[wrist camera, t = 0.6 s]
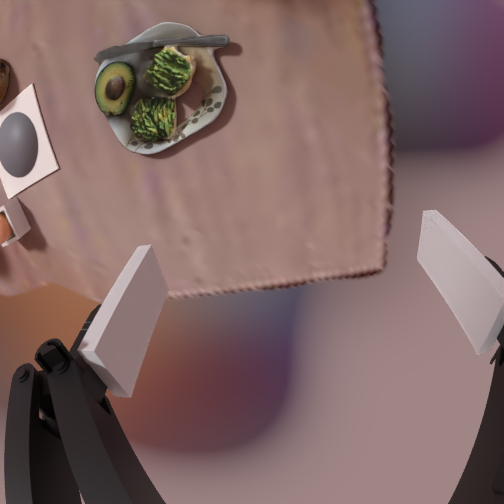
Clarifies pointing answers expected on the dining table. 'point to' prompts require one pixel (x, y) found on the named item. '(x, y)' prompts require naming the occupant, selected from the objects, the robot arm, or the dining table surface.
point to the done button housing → (15, 220)
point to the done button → (5, 228)
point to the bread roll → (3, 79)
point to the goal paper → (24, 144)
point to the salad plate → (159, 85)
